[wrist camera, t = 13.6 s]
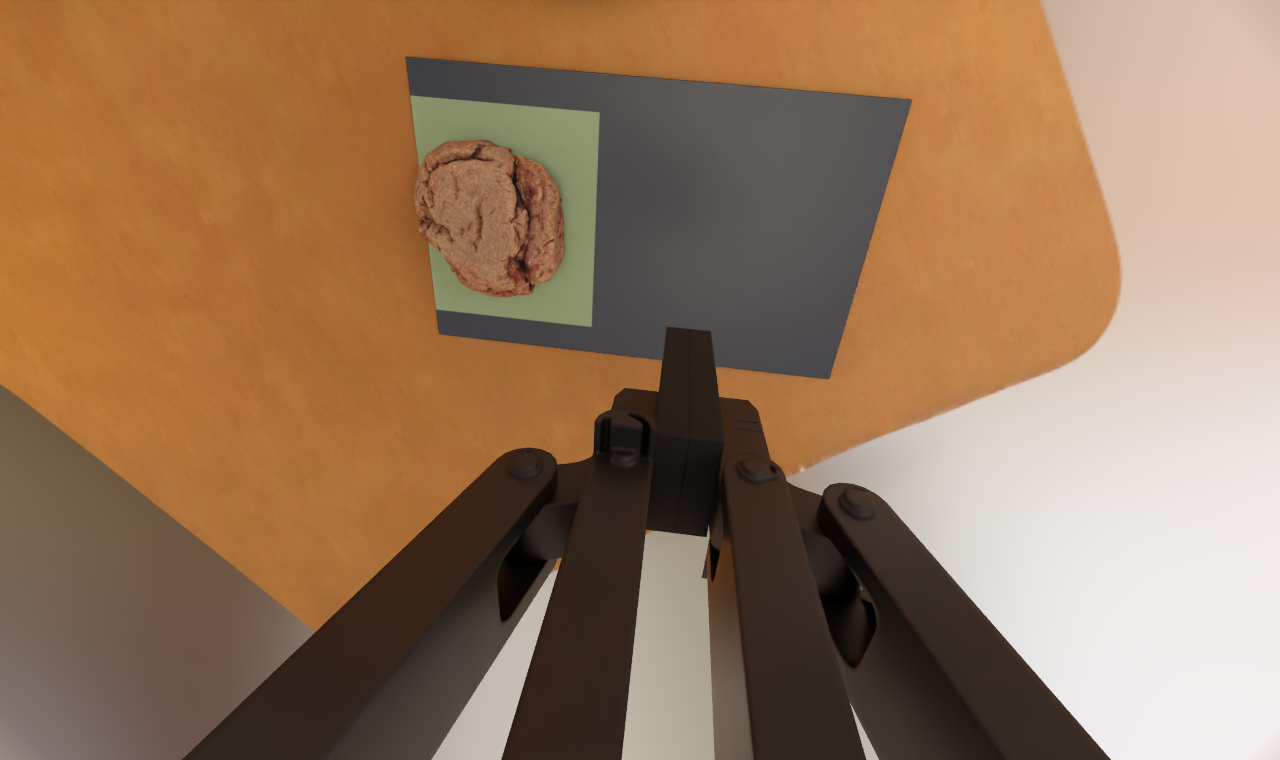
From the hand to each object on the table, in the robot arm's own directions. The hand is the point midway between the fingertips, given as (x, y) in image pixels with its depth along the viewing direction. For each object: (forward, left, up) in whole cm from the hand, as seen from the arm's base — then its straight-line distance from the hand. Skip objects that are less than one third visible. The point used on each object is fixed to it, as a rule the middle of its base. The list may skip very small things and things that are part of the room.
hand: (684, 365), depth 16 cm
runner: (-1, -3, -18) cm, 18 cm away
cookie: (-1, -13, -18) cm, 22 cm away
